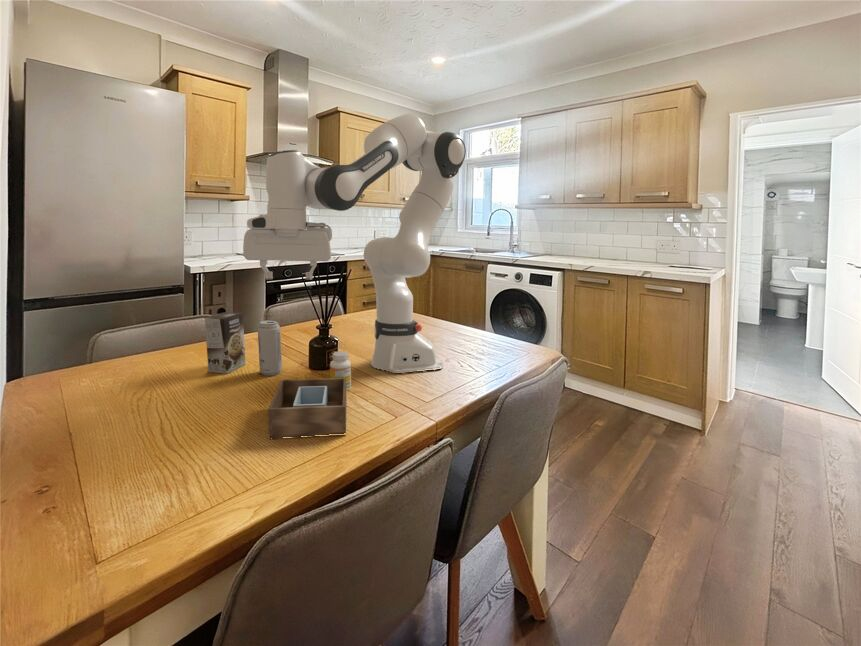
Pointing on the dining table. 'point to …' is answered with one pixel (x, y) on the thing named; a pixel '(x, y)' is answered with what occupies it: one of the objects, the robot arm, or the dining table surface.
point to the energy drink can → (269, 348)
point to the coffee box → (225, 342)
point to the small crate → (311, 396)
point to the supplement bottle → (341, 367)
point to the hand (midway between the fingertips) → (289, 279)
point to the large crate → (307, 410)
